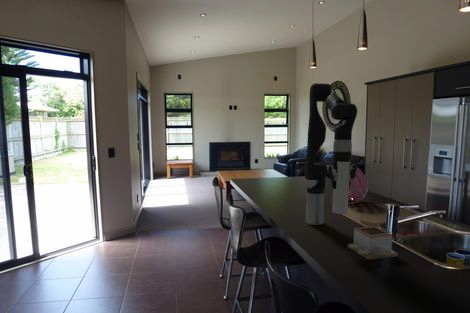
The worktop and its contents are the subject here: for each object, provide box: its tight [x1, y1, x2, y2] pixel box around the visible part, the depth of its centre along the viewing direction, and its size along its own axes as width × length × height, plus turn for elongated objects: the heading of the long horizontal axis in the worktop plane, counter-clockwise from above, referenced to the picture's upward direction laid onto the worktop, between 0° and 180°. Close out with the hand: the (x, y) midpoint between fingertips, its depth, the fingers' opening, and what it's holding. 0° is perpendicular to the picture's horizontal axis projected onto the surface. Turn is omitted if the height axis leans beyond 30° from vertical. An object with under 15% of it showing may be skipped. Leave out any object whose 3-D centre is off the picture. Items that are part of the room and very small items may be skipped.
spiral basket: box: [330, 166, 369, 205], centre depth 216 cm, size 28×28×27 cm
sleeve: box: [353, 225, 393, 255], centre depth 133 cm, size 11×11×8 cm
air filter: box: [331, 161, 351, 215], centre depth 136 cm, size 6×6×25 cm
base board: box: [347, 242, 399, 261], centre depth 134 cm, size 14×14×1 cm
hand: (340, 188), depth 136 cm, fingers closed on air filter, 5 cm apart
